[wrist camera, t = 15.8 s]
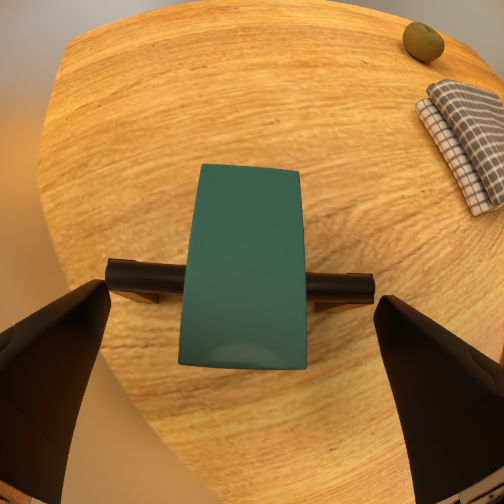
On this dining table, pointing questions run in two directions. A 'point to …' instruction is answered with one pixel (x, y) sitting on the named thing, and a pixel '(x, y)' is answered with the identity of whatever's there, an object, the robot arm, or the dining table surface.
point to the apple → (423, 42)
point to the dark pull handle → (173, 278)
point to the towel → (468, 139)
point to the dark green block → (245, 272)
